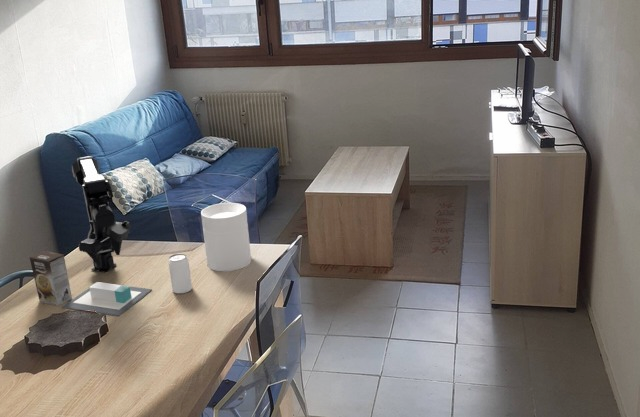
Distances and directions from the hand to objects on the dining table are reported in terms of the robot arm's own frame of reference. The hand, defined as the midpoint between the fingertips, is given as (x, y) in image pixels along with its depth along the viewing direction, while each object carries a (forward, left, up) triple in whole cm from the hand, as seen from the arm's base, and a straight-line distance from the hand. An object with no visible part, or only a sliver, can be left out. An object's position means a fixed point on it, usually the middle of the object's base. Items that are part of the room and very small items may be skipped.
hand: (109, 260), depth 210 cm
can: (+22, +7, -12) cm, 26 cm away
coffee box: (-16, -10, -12) cm, 22 cm away
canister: (+27, +31, -12) cm, 43 cm away
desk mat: (+1, -5, -12) cm, 13 cm away
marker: (+2, -5, -11) cm, 12 cm away
